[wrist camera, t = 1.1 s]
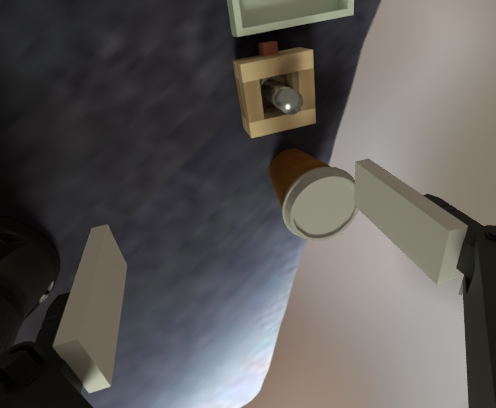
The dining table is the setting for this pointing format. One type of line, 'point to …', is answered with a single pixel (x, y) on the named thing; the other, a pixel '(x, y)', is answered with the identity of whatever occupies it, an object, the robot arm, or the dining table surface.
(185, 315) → the dining table surface
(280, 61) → the wooden square frame
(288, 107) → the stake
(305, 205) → the disposable coffee cup
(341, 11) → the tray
